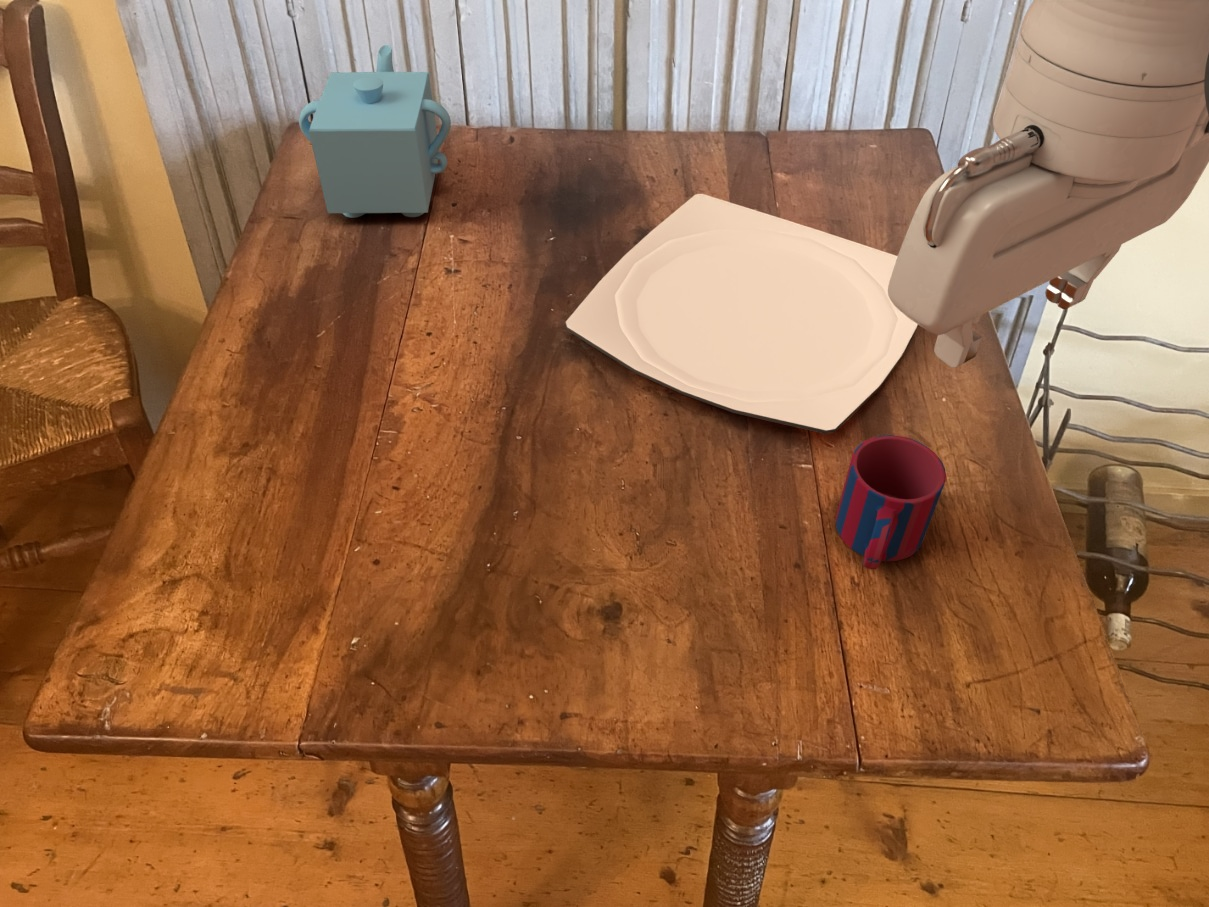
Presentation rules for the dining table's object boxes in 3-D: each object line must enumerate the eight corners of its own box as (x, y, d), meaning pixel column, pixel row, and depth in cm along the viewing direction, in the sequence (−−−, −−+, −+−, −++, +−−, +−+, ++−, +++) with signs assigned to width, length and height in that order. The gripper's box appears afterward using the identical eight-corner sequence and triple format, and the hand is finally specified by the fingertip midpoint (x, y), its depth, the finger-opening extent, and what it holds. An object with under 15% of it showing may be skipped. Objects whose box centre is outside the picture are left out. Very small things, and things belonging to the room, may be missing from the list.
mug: (934, 514, 77) (956, 454, 72) (895, 608, 71) (918, 549, 66) (851, 483, 79) (868, 423, 74) (807, 572, 73) (822, 512, 68)
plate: (835, 471, 80) (841, 448, 78) (543, 350, 90) (542, 328, 88) (948, 289, 97) (955, 266, 95) (690, 204, 107) (692, 183, 105)
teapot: (454, 225, 104) (439, 110, 95) (306, 226, 104) (276, 111, 95) (467, 139, 117) (456, 30, 107) (335, 140, 116) (312, 30, 107)
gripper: (1001, 198, 41) (922, 430, 51) (1278, 75, 49) (1163, 297, 59) (893, 135, 45) (839, 363, 55) (1167, 29, 53) (1077, 246, 63)
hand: (1009, 328), depth 57 cm, fingers open, 8 cm apart
